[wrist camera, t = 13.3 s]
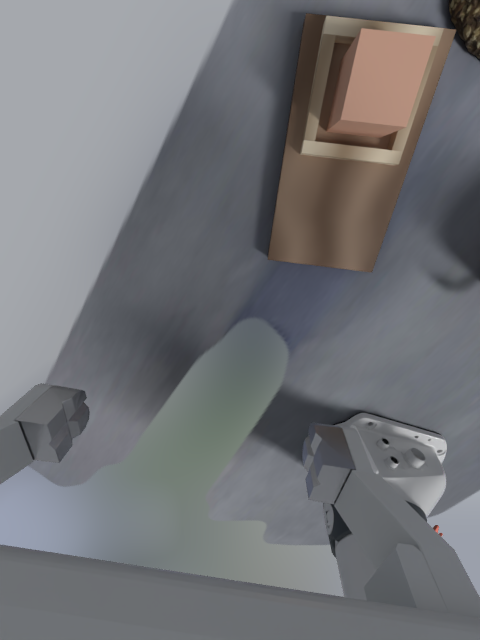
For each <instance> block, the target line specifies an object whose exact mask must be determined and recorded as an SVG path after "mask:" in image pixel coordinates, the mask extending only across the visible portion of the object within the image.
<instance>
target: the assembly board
mask: <svg viewBox="0 0 480 640" xmlns="http://www.w3.org/2000/svg"><path fill="white" fill-rule="evenodd" d="M361 28H364V29H373V30H383V31H392V32H401V33H411V34H420V35H429V36H436V38H435V41H434V44H433V47H432V50H431V53H430V56H429V59H428V62H427V65H426V68H425V71H424V75H423V78H422V81H421V84H420V87H419V90H418V93H417V96H416V99H415V102H414V105H413V108H412V111H411V115H410V118H409V121H408V124H407V127H406V128H403V129H401V130H398V131H396V132H393V133H391V134H388V135H386V136H383V137H381V138H377V137H368V136H359V135H351V134H342V133H333V132H326V131H327V126H328V121H329V116H330V112H331V107H332V102H333V97H334V93H335V88H336V83H337V79H338V74H339V69H340V64H341V60H342V58H343V57H344V55H345V53H346V52H347V50H348V49H349V47H350V46H351V44H352V42H353V41H354V39H355V38H356V36H357V35H358V33H359V31H360V30H361ZM455 33H456V29H446V28H437V27H428V26H419V25H409V24H400V23H391V22H381V21H372V20H363V19H354V18H344V17H335V16H326V15H316V14H307V13H306V16H305V20H304V24H303V31H302V37H301V44H300V50H299V57H298V63H297V70H296V76H295V83H294V89H293V95H292V102H291V108H290V115H289V121H288V128H287V134H286V141H285V147H284V154H283V160H282V167H281V173H280V180H279V186H278V193H277V199H276V205H275V212H274V218H273V225H272V231H271V238H270V244H269V251H268V260H275V261H284V262H292V263H300V264H308V265H316V266H324V267H332V268H340V269H348V270H356V271H364V272H372V271H373V268H374V265H375V262H376V259H377V256H378V253H379V251H380V248H381V245H382V242H383V239H384V236H385V233H386V230H387V228H388V225H389V222H390V219H391V216H392V213H393V210H394V208H395V205H396V202H397V199H398V196H399V193H400V190H401V188H402V185H403V182H404V179H405V176H406V173H407V170H408V167H409V165H410V162H411V159H412V156H413V153H414V150H415V147H416V145H417V142H418V139H419V136H420V133H421V130H422V127H423V124H424V122H425V119H426V116H427V113H428V110H429V107H430V104H431V102H432V99H433V96H434V93H435V90H436V87H437V84H438V81H439V79H440V76H441V73H442V70H443V67H444V64H445V61H446V59H447V56H448V53H449V50H450V47H451V44H452V41H453V39H454V36H455Z"/></svg>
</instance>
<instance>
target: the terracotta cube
mask: <svg viewBox="0 0 480 640" xmlns="http://www.w3.org/2000/svg"><path fill="white" fill-rule="evenodd" d="M435 38H436V36H429V35H420V34H411V33H401V32H392V31H383V30H373V29H364V28H361V30H360V31H359V33H358V35H357V36H356V38H355V39H354V41H353V42H352V44H351V46H350V47H349V49H348V50H347V52H346V53H345V55H344V57H343V58H342V60H341V64H340V69H339V74H338V79H337V83H336V88H335V93H334V97H333V102H332V107H331V112H330V116H329V121H328V126H327V131H326V132H333V133H342V134H351V135H359V136H368V137H377V138H381V137H383V136H386V135H388V134H391V133H393V132H396V131H398V130H401V129H403V128H406V127H407V124H408V121H409V118H410V115H411V111H412V108H413V105H414V102H415V99H416V96H417V93H418V90H419V87H420V84H421V81H422V78H423V75H424V71H425V68H426V65H427V62H428V59H429V56H430V53H431V50H432V47H433V44H434V41H435Z"/></svg>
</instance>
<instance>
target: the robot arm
mask: <svg viewBox="0 0 480 640" xmlns="http://www.w3.org/2000/svg"><path fill="white" fill-rule="evenodd" d="M86 398H87V397H86V394H85V391H83V390H79V389H73V388H67V387H61V386H54V385H48V384H42V383H41V384H38V385H36V386H34V387H33V388H32V389H31V390H30V391H28V392H27V393H26V394H25V395H24V396H23V397H22V398H20V399H19V400H18V401H17V402H16V403H15V404H14V405H12V406H11V407H10V408H9V409H8V410H7V411H5V412H4V413H3V414H2V415H1V416H0V484H1V483H3V482H4V481H6V480H7V479H9V478H10V477H12V476H13V475H15V474H16V473H18V472H19V471H20V470H22V469H23V468H25V467H26V466H28V465H29V464H31V463H32V462H33V460H37V461H45V462H54V463H60V461H61V460H62V459H63V457H64V456H65V455H66V453H67V452H68V451H69V449H70V448H71V447H72V439H73V438H75V437H77V436H78V435H80V434H81V433H82V431H83V430H84V429H85V427H86V425H87V422H88V420H89V413H90V412H89V407H88V406H87V405H86V404H85V403H84V401H85V400H86ZM308 433H309V436H308V437H306V438H305V440H304V444H303V451H302V458H303V466H304V468H305V469H306V470H307V472H308V474H307V476H306V479H305V480H306V486H307V493H308V499H309V500H312V501H318V502H324V503H323V511H324V519H325V525H326V530H327V533H328V536H329V541H330V545H331V550H332V553H333V555H334V556H335V557H336V559H337V564H338V569H339V574H340V579H341V584H342V589H343V594H344V597H340V596H333V595H327V594H320V593H313V592H307V591H300V590H294V589H288V588H281V587H275V586H268V585H262V584H255V583H247V582H242V581H234V580H229V579H222V578H215V577H208V576H202V575H196V574H189V573H183V572H176V571H170V570H163V569H157V568H150V567H143V566H137V565H131V564H124V563H117V562H111V561H104V560H98V559H91V558H85V557H78V556H72V555H64V554H58V553H52V552H45V551H39V550H32V549H25V548H19V547H12V546H6V545H0V640H480V597H479V595H478V594H477V592H476V590H475V588H474V586H473V584H472V582H471V581H470V579H469V577H468V575H467V573H466V571H465V569H464V567H463V565H462V564H461V562H460V560H459V558H458V556H457V554H456V552H455V550H454V549H453V548H452V547H451V546H450V545H449V544H448V543H447V542H446V541H445V540H444V539H443V538H442V537H441V536H442V535H443V534H442V533H440V534H438V528H439V526H438V525H435V526H434V528H432V527H431V526H430V525H429V524H428V523H427V516H428V515H429V514H430V512H431V511H432V509H433V508H434V507H435V505H436V504H437V502H438V501H439V499H440V498H441V496H442V495H443V493H444V490H445V487H446V475H445V472H444V469H443V467H442V464H441V463H442V462H443V460H444V458H445V455H446V451H447V444H446V441H445V439H444V437H443V436H442V435H439V434H436V433H433V432H429V431H426V430H422V429H419V428H416V427H412V426H409V425H405V424H402V423H399V422H395V421H392V420H388V419H385V418H381V417H378V416H375V415H371V414H368V413H360V414H357V415H355V416H353V417H352V418H350V419H349V420H347V421H346V422H343V423H340V424H337V425H327V424H319V423H311V424H310V425H309V428H308Z"/></svg>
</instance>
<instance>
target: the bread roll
mask: <svg viewBox="0 0 480 640" xmlns="http://www.w3.org/2000/svg"><path fill="white" fill-rule="evenodd" d="M449 12H450V14H451V21H452V22H453V24H454V26H455V28H456V30H457V31H458V33H459V35H460V37H461V38H462V39H463V40H464V41H465V45H466V47H467V49H468V52H470V53H472V54H473V55H476V56H477V57H478V58H480V0H449Z"/></svg>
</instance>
